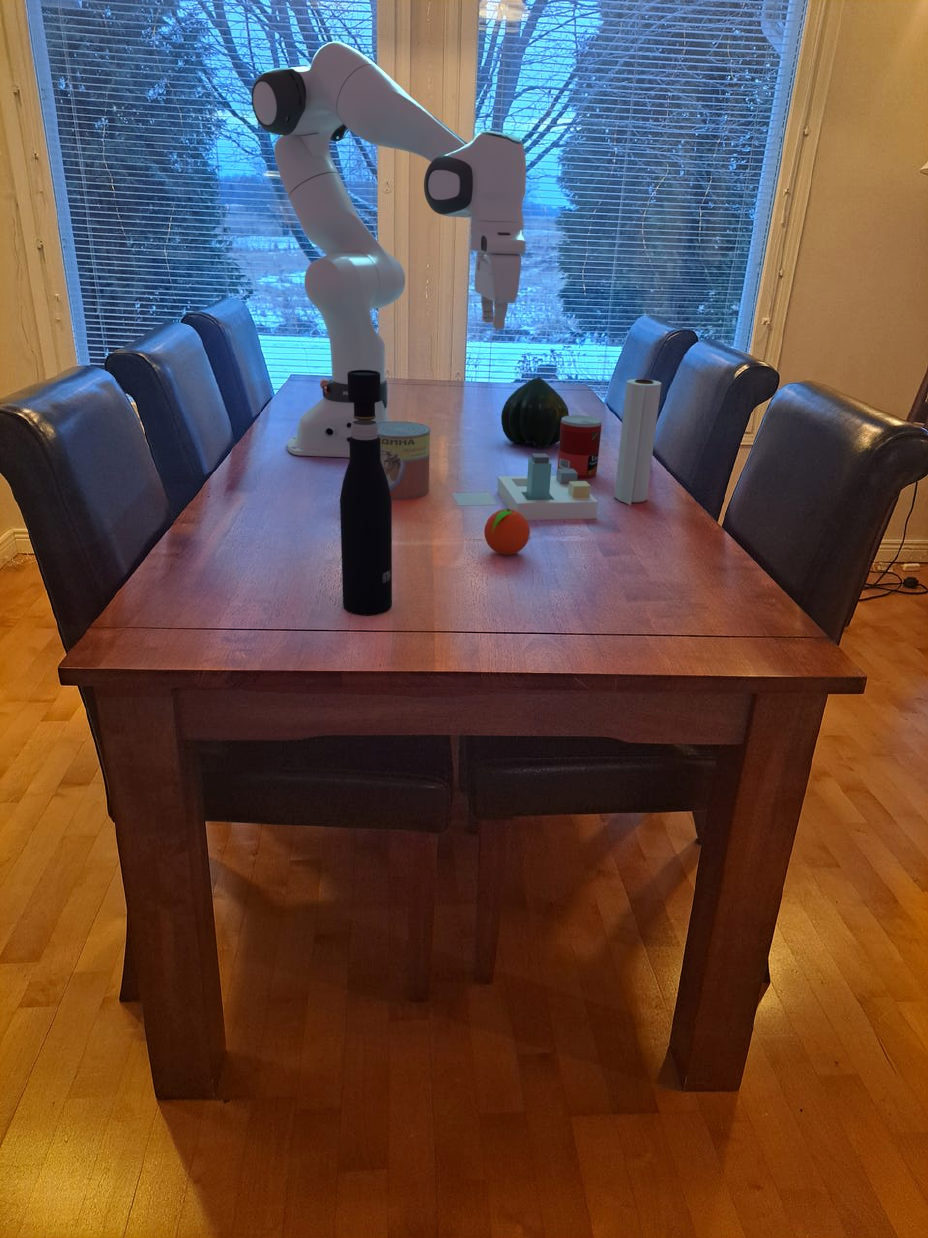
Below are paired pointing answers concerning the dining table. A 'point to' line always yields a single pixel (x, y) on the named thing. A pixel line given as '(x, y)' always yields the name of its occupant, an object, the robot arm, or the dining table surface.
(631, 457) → the paper towel roll
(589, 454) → the canned food
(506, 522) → the clementine
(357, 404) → the insulated water bottle
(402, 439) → the canned food
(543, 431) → the squash
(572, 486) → the block
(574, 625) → the dining table surface
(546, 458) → the plug
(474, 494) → the mat
